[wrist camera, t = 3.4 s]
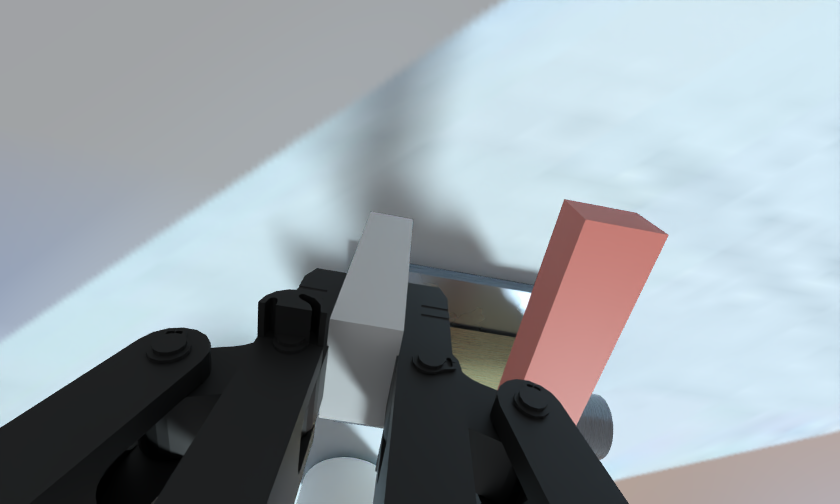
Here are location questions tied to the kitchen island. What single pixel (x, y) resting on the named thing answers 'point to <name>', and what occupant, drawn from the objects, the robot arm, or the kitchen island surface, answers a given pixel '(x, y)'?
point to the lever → (582, 300)
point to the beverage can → (339, 482)
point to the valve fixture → (497, 337)
